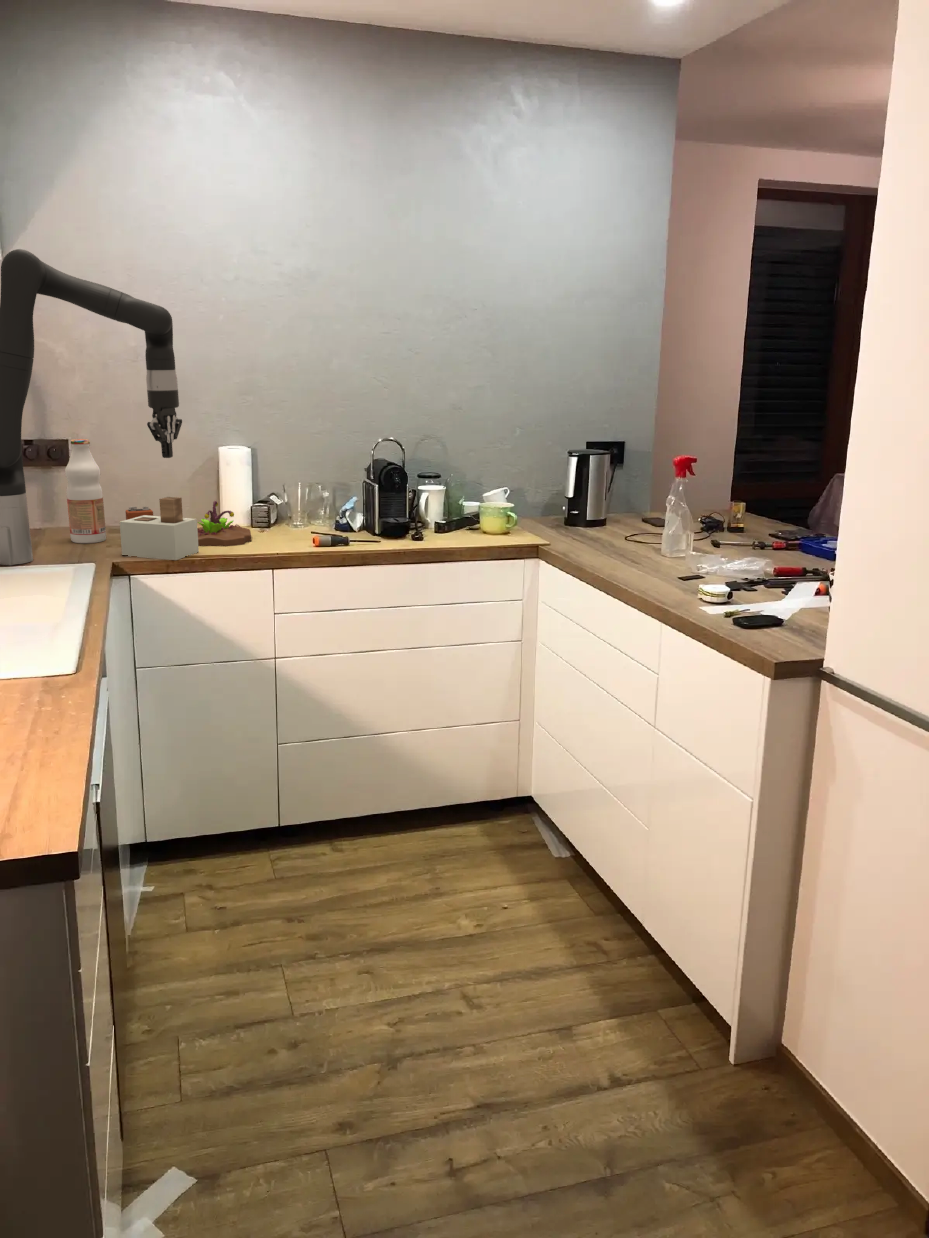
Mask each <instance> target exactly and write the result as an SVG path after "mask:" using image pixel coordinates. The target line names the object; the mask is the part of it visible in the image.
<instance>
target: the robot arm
mask: <svg viewBox="0 0 929 1238" xmlns="http://www.w3.org/2000/svg"><path fill="white" fill-rule="evenodd" d="M37 295H41V296H47V297H51V298H54V299H58V300H62V301H64V302H67V303H70V304H72V305H75V306H77V307H81V308H83V309H84V310H87V311H89V312H91V313H94V314H97V315H99V316H102V317H104V318H108V319H110V320H113V321H116V322H120V323H123V324H127V325H130V326H132V327H134V328H137V329H138V330H139V329H140V330H142V331H144V338H145V345H146V347H145V356H144V357H145V368H146V379H145V380H146V393H147V404H148V405H147V406H148V408H150V409H152V415H151V416H152V420H151V421H147V423H146V425H147V428H148V429H149V431H150V433H151V435H152V437H153V438H154V440H155V441H156V442H159V443H160V445H161V447H160V448H161V455H162V457H161V458H164V459H170V458H173V456H174V452H173V443H174V440H177V439H178V436H179V433H180V430H181V428H182V425H183V420H182V419H181V418H178V417H177V411H176V409H177V408H179V407H180V399H179V397H180V396H179V386H178V385H179V384H178V377H177V371H176V357H175V353H174V346H173V345H174V333H173V332H174V331H173V329H174V327H173V326H174V325H173V317H172V314H171V313H170V312H169V310H167V309H166V308H165V307H163V306H161V305H158V304H156V303H152V302H149V301H145V300H142V299H139V298H136V297H133V296H132V295H130V294H128V293H126V292H123V291H120V290H118V289H114V288H113V287H109V286H107V285H103V284H101V283H96V282H93V281H89V280H86V279H83V278H79V277H76V276H73V275H70V274H67V273H65V272H62V271H61V270H58V269H56V268H55V267H53V266H51V265H49V264H47V263H46V262H44V261H42V260H41V259H40V258H39V257H38V256H36V255H35V254H34V253H32V252H30V251H28V250H27V249H21V248H18V249H12V250H11V251H9V252H8V253H6V254H5V255H4V257H3V259H2V260H1V265H0V565H3V566H4V565H5V566H14V565H21V564H26V563H29V562H30V563H31V562H32V561H34V558H33V557H34V555H33V546H32V537H31V536H32V535H31V528H30V518H29V511H28V498H27V487H26V480H25V471H24V463H23V462H24V461H23V452H22V451H23V450H22V449H23V446H22V423H23V421H22V420H23V413H24V407H25V403H26V400H27V397H28V393H29V387H30V384H31V378H32V375H33V373H32V372H33V366H34V359H35V333H34V331H35V330H34V311H35V306H36V305H35V304H36V298H37Z"/></svg>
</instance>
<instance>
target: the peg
mask: <svg viewBox="0 0 929 1238" xmlns="http://www.w3.org/2000/svg"><path fill="white" fill-rule="evenodd" d="M182 499H183V498H182V497H177V496H176V497H173V496H172V497H171V496H166V497H162V498H159V500H158V501H159V512H160V513H159V514H160V515H159V516H161V522H163V523H178V522H182V521H183V518H184V517H183V516H184V515H183V501H182Z"/></svg>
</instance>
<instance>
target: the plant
mask: <svg viewBox="0 0 929 1238" xmlns="http://www.w3.org/2000/svg"><path fill="white" fill-rule="evenodd" d="M218 506H219V503H218V501H217V500H214V501H213V502H212V510H210V509H209V510H208V511H207V512H206V513H204V518H201V520H200V521H201V522H199V521H197V524H199V525H200V526H201V527H197V530H198V547H234V546H241V545H246V543H249V542H252V533H251V530H250V529H249V528H247V527H241V526H240V525H239V524H235V525H234V524H233V522H234V519H233V520H230V521H228V518H225V517H222V516H224V515H225V514H227V513H228V514H229V517H231V518H234V517H235V513H234V512H233V511H231V510H223V511H222V512H221V513H219V514H217V508H216V507H218ZM227 522H228V523H227Z"/></svg>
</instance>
